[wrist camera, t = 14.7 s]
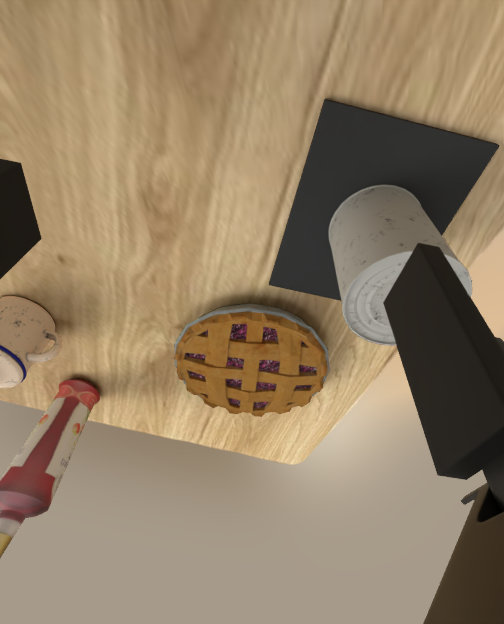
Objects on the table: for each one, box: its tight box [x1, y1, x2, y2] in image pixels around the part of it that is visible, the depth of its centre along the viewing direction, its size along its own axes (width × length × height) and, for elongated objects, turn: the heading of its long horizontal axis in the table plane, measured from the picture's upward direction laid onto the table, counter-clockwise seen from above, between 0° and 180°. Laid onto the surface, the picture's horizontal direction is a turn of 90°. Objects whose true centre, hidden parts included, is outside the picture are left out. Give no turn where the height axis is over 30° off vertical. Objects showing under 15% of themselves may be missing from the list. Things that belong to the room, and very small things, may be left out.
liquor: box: [0, 379, 100, 558], centre depth 49 cm, size 7×7×28 cm
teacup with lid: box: [0, 296, 62, 388], centre depth 45 cm, size 12×9×12 cm
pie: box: [174, 304, 330, 417], centre depth 49 cm, size 22×22×5 cm
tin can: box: [329, 185, 472, 346], centre depth 32 cm, size 10×10×12 cm
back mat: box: [269, 99, 499, 300], centre depth 36 cm, size 20×16×1 cm
